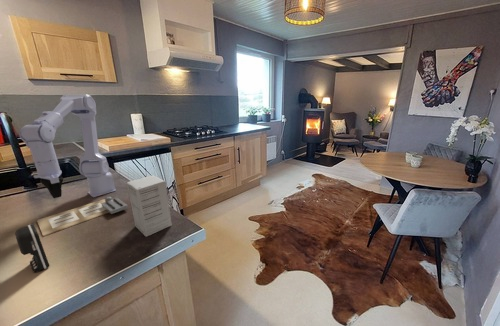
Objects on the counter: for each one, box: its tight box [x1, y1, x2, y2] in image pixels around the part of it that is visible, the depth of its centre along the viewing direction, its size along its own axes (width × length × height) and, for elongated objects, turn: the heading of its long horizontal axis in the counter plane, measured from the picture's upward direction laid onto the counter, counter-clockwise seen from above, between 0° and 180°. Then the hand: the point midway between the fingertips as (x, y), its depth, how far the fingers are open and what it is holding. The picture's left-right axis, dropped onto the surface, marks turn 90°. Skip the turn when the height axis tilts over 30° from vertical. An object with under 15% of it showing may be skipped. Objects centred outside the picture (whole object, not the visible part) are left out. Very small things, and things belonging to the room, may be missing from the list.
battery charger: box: [15, 223, 50, 273], centre depth 56 cm, size 7×4×11 cm, turn 51°
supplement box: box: [126, 174, 173, 238], centre depth 72 cm, size 10×9×17 cm
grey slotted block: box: [101, 196, 129, 215], centre depth 86 cm, size 12×6×2 cm, turn 51°
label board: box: [36, 198, 111, 237], centre depth 82 cm, size 23×14×1 cm, turn 140°
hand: (57, 197), depth 76 cm, fingers closed
